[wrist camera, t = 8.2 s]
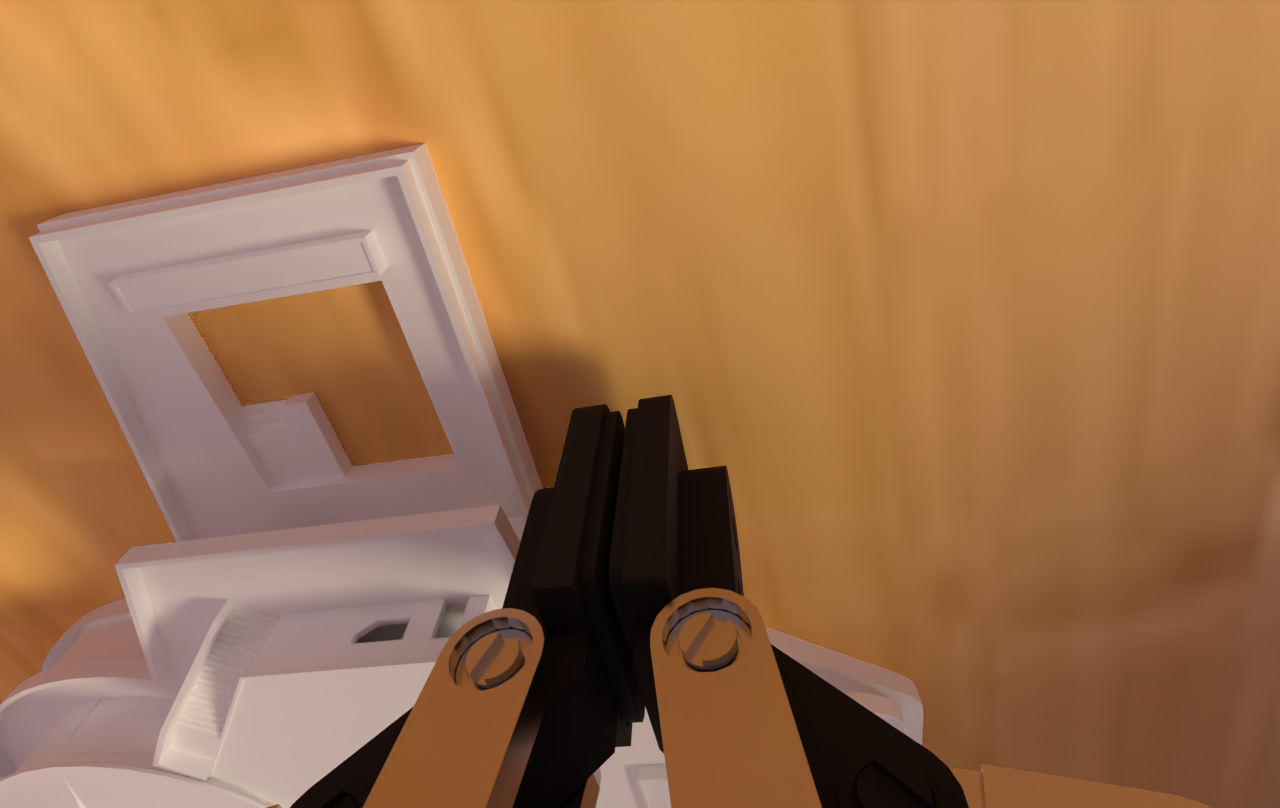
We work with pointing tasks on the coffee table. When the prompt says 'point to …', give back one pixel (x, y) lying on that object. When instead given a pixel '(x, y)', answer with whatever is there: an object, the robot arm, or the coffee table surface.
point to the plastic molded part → (290, 509)
